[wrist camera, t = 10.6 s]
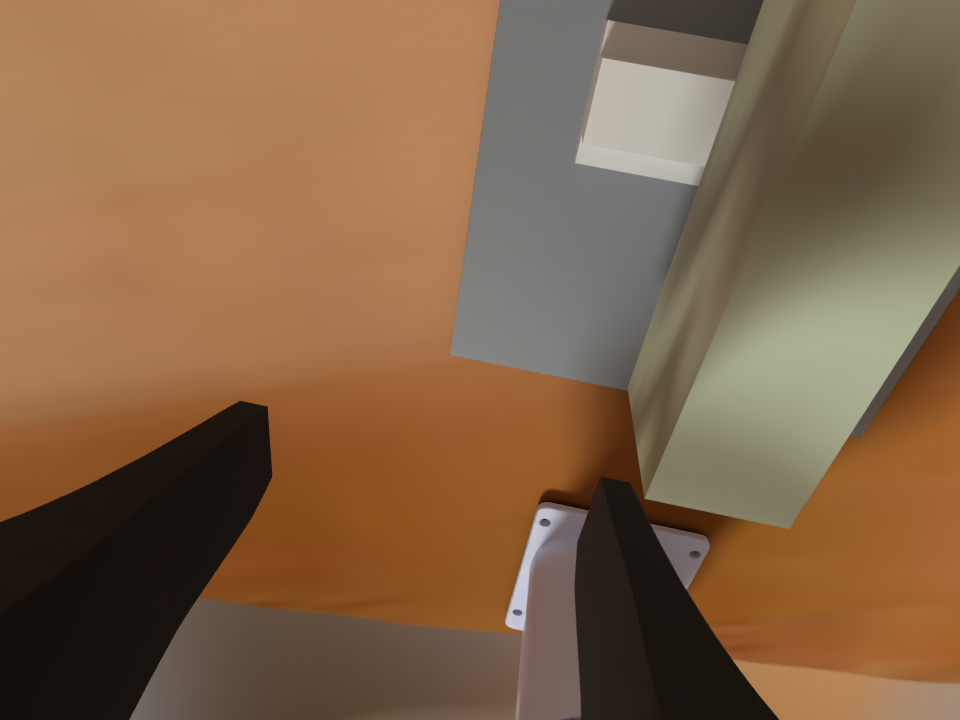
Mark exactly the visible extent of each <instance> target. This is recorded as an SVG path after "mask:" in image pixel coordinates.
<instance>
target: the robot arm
mask: <svg viewBox="0 0 960 720" xmlns="http://www.w3.org/2000/svg"><path fill="white" fill-rule="evenodd" d="M271 478H272V465H271V450H270V436H269V421H268V407H267V406H262V405H258V404H253V403H248V402H243V401H239V402H237V403H235V404H234V405H232V406H230V407H228V408H226V409H225V410H223V411H221V412H220V413H218V414H216V415H214V416H213V417H211V418H209V419H208V420H206V421H204V422H202V423H201V424H199V425H197V426H196V427H194V428H192V429H191V430H189V431H187V432H185V433H184V434H182V435H180V436H178V437H177V438H175V439H173V440H171V441H170V442H168V443H166V444H164V445H163V446H161V447H159V448H157V449H156V450H154V451H152V452H150V453H149V454H147V455H145V456H143V457H141V458H139V459H137V460H135V461H133V462H131V463H129V464H128V465H126V466H124V467H122V468H120V469H118V470H116V471H114V472H112V473H110V474H108V475H106V476H104V477H103V478H101V479H99V480H97V481H95V482H93V483H91V484H89V485H86V486H84V487H82V488H80V489H78V490H76V491H74V492H72V493H69V494H67V495H65V496H63V497H60V498H58V499H56V500H54V501H51V502H49V503H47V504H44V505H42V506H40V507H37V508H35V509H33V510H30V511H28V512H26V513H23V514H21V515H18V516H15V517H13V518H10V519H8V520H5V521H2V522H0V720H129V719H130V717H131V715H132V713H133V711H134V710H135V708H136V706H137V704H138V702H139V700H140V698H141V696H142V694H143V692H144V690H145V688H146V686H147V685H148V683H149V681H150V679H151V677H152V675H153V673H154V671H155V670H156V668H157V666H158V664H159V662H160V660H161V659H162V657H163V655H164V653H165V651H166V649H167V648H168V646H169V644H170V642H171V640H172V639H173V637H174V635H175V633H176V631H177V630H178V628H179V626H180V625H181V623H182V622H183V620H184V618H185V617H186V615H187V614H188V612H189V610H190V609H191V607H192V606H193V604H194V603H195V601H196V600H197V598H198V597H199V596H200V594H201V593H202V591H203V590H204V588H205V587H206V585H207V584H208V582H209V581H210V579H211V578H212V576H213V575H214V573H215V572H216V570H217V569H218V567H219V566H220V565H221V563H222V562H223V560H224V559H225V557H226V556H227V554H228V553H229V551H230V550H231V548H232V547H233V545H234V544H235V542H236V541H237V539H238V538H239V536H240V535H241V533H242V532H243V530H244V529H245V527H246V526H247V524H248V523H249V521H250V520H251V518H252V516H253V514H254V512H255V510H256V508H257V507H258V505H259V503H260V501H261V499H262V497H263V495H264V493H265V491H266V489H267V486H268V484H269V482H270V480H271ZM542 519H548V520H542ZM709 549H710V544H709V541H708V538H707V537H706V536H704V535H701V534H696V533H692V532H687V531H682V530H678V529H673V528H668V527H663V526H659V525H654V524H650V522H649V520H648V518H647V516H646V514H645V512H644V509H643V507H642V505H641V503H640V501H639V499H638V497H637V495H636V493H635V490H634V488H633V487H632V485H631V484H630V483H628V482H624V481H619V480H614V479H609V478H605V477H601V478H600V480H599V483H598V486H597V489H596V491H595V494H594V497H593V500H592V503H591V505H590V508H589V511H588V510H584V509H579V508H574V507H570V506H565V505H560V504H556V503H551V502H544V503H541V504H539V505H538V507H537V510H536V513H535V516H534V520H533V523H532V527H531V530H530V534H529V537H528V541H527V544H526V548H525V551H524V554H523V558H522V561H521V565H520V568H519V572H518V575H517V579H516V582H515V586H514V589H513V592H512V596H511V599H510V603H509V606H508V610H507V613H506V618H505V623H506V625H507V626H509V627H510V628H513V629H518V630H522V631H523V635H522V647H521V660H520V672H519V685H518V696H517V708H516V720H779V719H778V718H777V716H776V715H775V714H774V713H773V712H772V711H771V709H770V708H769V707H768V706H767V704H766V703H765V702H764V701H763V700H762V699H761V697H760V696H759V695H758V693H757V692H756V691H755V690H754V688H753V687H752V686H751V684H750V683H749V682H748V681H747V679H746V678H745V677H744V675H743V674H742V673H741V671H740V670H739V669H738V667H737V666H736V664H735V663H734V662H733V660H732V659H731V657H730V656H729V655H728V653H727V652H726V650H725V649H724V648H723V646H722V645H721V643H720V642H719V640H718V639H717V637H716V636H715V634H714V633H713V631H712V630H711V628H710V627H709V625H708V624H707V622H706V621H705V619H704V618H703V616H702V614H701V613H700V611H699V610H698V608H697V606H696V605H695V603H694V602H693V600H692V598H691V597H690V595H689V593H688V592H687V589H688V587H689V585H690V583H691V581H692V580H693V578H694V576H695V574H696V572H697V571H698V569H699V567H700V565H701V563H702V562H703V560H704V558H705V556H706V554H707V553H708V551H709ZM692 551H696V552H692Z"/></svg>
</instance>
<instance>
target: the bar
mask: <svg viewBox="0 0 960 720" xmlns="http://www.w3.org/2000/svg"><path fill="white" fill-rule="evenodd" d="M959 266H960V0H764V1H763V4H762V6H761V9H760V12H759V15H758V18H757V21H756V24H755V26H754V29H753V32H752V35H751V38H750V41H749V43H748V46H747V49H746V52H745V55H744V58H743V61H742V63H741V66H740V69H739V72H738V75H737V78H736V80H735V83H734V86H733V89H732V92H731V95H730V98H729V100H728V103H727V106H726V109H725V112H724V115H723V117H722V120H721V123H720V126H719V129H718V132H717V135H716V137H715V140H714V143H713V146H712V149H711V152H710V155H709V157H708V160H707V163H706V166H705V169H704V172H703V174H702V177H701V180H700V183H699V186H698V189H697V192H696V194H695V197H694V200H693V203H692V206H691V209H690V211H689V214H688V217H687V220H686V223H685V226H684V229H683V231H682V234H681V237H680V240H679V243H678V246H677V248H676V251H675V254H674V257H673V260H672V263H671V266H670V268H669V271H668V274H667V277H666V280H665V283H664V285H663V288H662V291H661V294H660V297H659V300H658V303H657V305H656V308H655V311H654V314H653V317H652V320H651V322H650V325H649V328H648V331H647V334H646V337H645V340H644V342H643V345H642V348H641V351H640V354H639V357H638V359H637V362H636V365H635V368H634V371H633V374H632V377H631V379H630V382H629V385H628V395H629V401H630V408H631V414H632V421H633V427H634V434H635V440H636V447H637V453H638V460H639V466H640V473H641V480H642V486H643V493H644V499H648V500H653V501H658V502H662V503H667V504H672V505H677V506H682V507H686V508H691V509H696V510H701V511H706V512H710V513H715V514H720V515H725V516H729V517H734V518H739V519H744V520H749V521H753V522H758V523H763V524H768V525H772V526H777V527H782V528H787V529H789V528H790V527H791V525H792V523H793V522H794V520H795V519H796V517H797V516H798V514H799V513H800V511H801V510H802V508H803V506H804V505H805V503H806V502H807V500H808V499H809V497H810V496H811V494H812V493H813V491H814V490H815V488H816V486H817V485H818V483H819V482H820V480H821V479H822V477H823V476H824V474H825V473H826V471H827V469H828V468H829V466H830V465H831V463H832V462H833V460H834V459H835V457H836V456H837V454H838V452H839V451H840V449H841V448H842V446H843V445H844V443H845V442H846V440H847V439H848V437H849V435H850V434H851V432H852V431H853V429H854V428H855V426H856V425H857V423H858V422H859V420H860V418H861V417H862V415H863V414H864V412H865V411H866V409H867V408H868V406H869V405H870V403H871V401H872V400H873V398H874V397H875V395H876V394H877V392H878V391H879V389H880V388H881V386H882V385H883V383H884V381H885V380H886V378H887V377H888V375H889V374H890V372H891V371H892V369H893V368H894V366H895V364H896V363H897V361H898V360H899V358H900V357H901V355H902V354H903V352H904V351H905V349H906V347H907V346H908V344H909V343H910V341H911V340H912V338H913V337H914V335H915V334H916V332H917V330H918V329H919V327H920V326H921V324H922V323H923V321H924V320H925V318H926V317H927V315H928V313H929V312H930V310H931V309H932V307H933V306H934V304H935V303H936V301H937V300H938V298H939V296H940V295H941V293H942V292H943V290H944V289H945V287H946V286H947V284H948V283H949V281H950V280H951V278H952V276H953V275H954V273H955V272H956V270H957V269H958V267H959Z"/></svg>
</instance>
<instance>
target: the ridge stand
mask: <svg viewBox="0 0 960 720" xmlns="http://www.w3.org/2000/svg"><path fill="white" fill-rule="evenodd" d="M763 1H764V0H500V5H499V12H498V19H497V26H496V33H495V40H494V47H493V54H492V61H491V69H490V76H489V83H488V90H487V97H486V104H485V111H484V118H483V125H482V132H481V139H480V146H479V153H478V161H477V168H476V175H475V182H474V189H473V196H472V203H471V210H470V217H469V224H468V231H467V238H466V245H465V253H464V260H463V267H462V274H461V281H460V288H459V295H458V302H457V309H456V316H455V323H454V330H453V337H452V345H451V352H450V355H454V356H459V357H464V358H468V359H473V360H478V361H483V362H488V363H493V364H498V365H503V366H508V367H513V368H518V369H523V370H527V371H532V372H537V373H542V374H547V375H552V376H557V377H562V378H567V379H572V380H577V381H582V382H586V383H591V384H596V385H601V386H606V387H611V388H616V389H621V390H626V391H628V385H629V382H630V379H631V377H632V374H633V371H634V368H635V365H636V362H637V359H638V357H639V354H640V351H641V348H642V345H643V342H644V340H645V337H646V334H647V331H648V328H649V325H650V322H651V320H652V317H653V314H654V311H655V308H656V305H657V303H658V300H659V297H660V294H661V291H662V288H663V285H664V283H665V280H666V277H667V274H668V271H669V268H670V266H671V263H672V260H673V257H674V254H675V251H676V248H677V246H678V243H679V240H680V237H681V234H682V231H683V229H684V226H685V223H686V220H687V217H688V214H689V211H690V209H691V206H692V203H693V200H694V197H695V194H696V192H697V189H698V186H699V183H700V180H701V177H702V174H703V172H704V169H705V166H706V163H707V160H708V157H709V155H710V152H711V149H712V146H713V143H714V140H715V137H716V135H717V132H718V129H719V126H720V123H721V120H722V117H723V115H724V112H725V109H726V106H727V103H728V100H729V98H730V95H731V92H732V89H733V86H734V83H735V80H736V78H737V75H738V72H739V69H740V66H741V63H742V61H743V58H744V55H745V52H746V49H747V46H748V43H749V41H750V38H751V35H752V32H753V29H754V26H755V24H756V21H757V18H758V15H759V12H760V9H761V6H762V4H763ZM959 289H960V266H959V267H958V269H957V270H956V272H955V273H954V275H953V276H952V278H951V280H950V281H949V283H948V284H947V286H946V287H945V289H944V290H943V292H942V293H941V295H940V296H939V298H938V300H937V301H936V303H935V304H934V306H933V307H932V309H931V310H930V312H929V313H928V315H927V317H926V318H925V320H924V321H923V323H922V324H921V326H920V327H919V329H918V330H917V332H916V334H915V335H914V337H913V338H912V340H911V341H910V343H909V344H908V346H907V347H906V349H905V351H904V352H903V354H902V355H901V357H900V358H899V360H898V361H897V363H896V364H895V366H894V368H893V369H892V371H891V372H890V374H889V375H888V377H887V378H886V380H885V381H884V383H883V385H882V386H881V388H880V389H879V391H878V392H877V394H876V395H875V397H874V398H873V400H872V401H871V403H870V405H869V406H868V408H867V409H866V411H865V412H864V414H863V415H862V417H861V418H860V420H859V422H858V423H857V425H856V426H855V428H854V429H853V431H852V432H851V434H850V435H849V436H852V437H857V438H860V437H861V436H862V434H863V433H864V431H865V430H866V428H867V427H868V425H869V424H870V422H871V421H872V419H873V418H874V416H875V415H876V413H877V412H878V410H879V409H880V407H881V406H882V404H883V403H884V401H885V400H886V398H887V397H888V395H889V394H890V392H891V391H892V389H893V388H894V386H895V385H896V383H897V382H898V380H899V379H900V377H901V376H902V374H903V373H904V371H905V370H906V368H907V367H908V365H909V364H910V362H911V361H912V359H913V358H914V356H915V355H916V353H917V352H918V350H919V349H920V347H921V346H922V344H923V343H924V341H925V340H926V338H927V337H928V335H929V334H930V332H931V331H932V329H933V328H934V326H935V325H936V323H937V322H938V320H939V319H940V317H941V316H942V314H943V313H944V311H945V310H946V308H947V307H948V305H949V304H950V302H951V301H952V299H953V298H954V296H955V295H956V293H957V292H958V290H959Z"/></svg>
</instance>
